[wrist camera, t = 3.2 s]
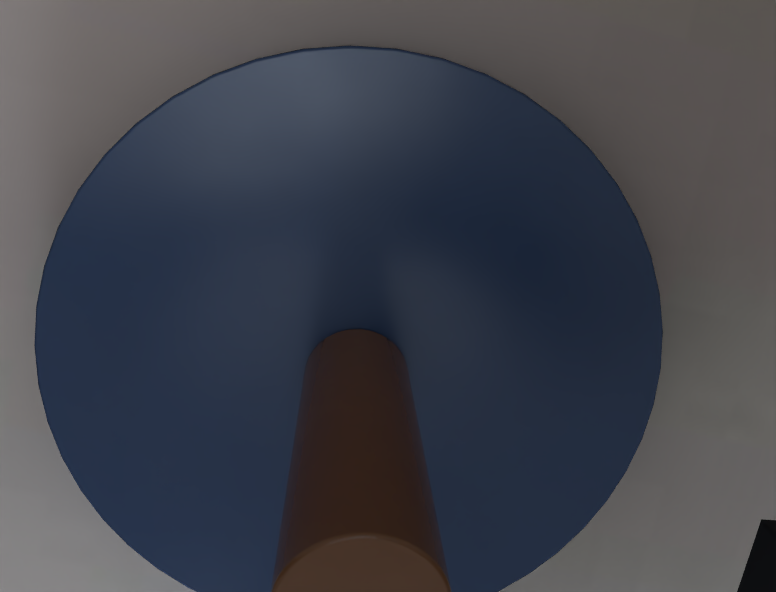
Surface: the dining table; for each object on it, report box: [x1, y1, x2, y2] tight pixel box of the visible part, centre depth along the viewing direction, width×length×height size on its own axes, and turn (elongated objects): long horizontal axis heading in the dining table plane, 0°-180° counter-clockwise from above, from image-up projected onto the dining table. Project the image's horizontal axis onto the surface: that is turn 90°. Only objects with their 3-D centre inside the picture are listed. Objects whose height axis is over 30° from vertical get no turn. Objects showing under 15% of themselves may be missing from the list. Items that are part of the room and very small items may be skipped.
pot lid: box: [35, 46, 663, 592], centre depth 14 cm, size 16×16×9 cm
